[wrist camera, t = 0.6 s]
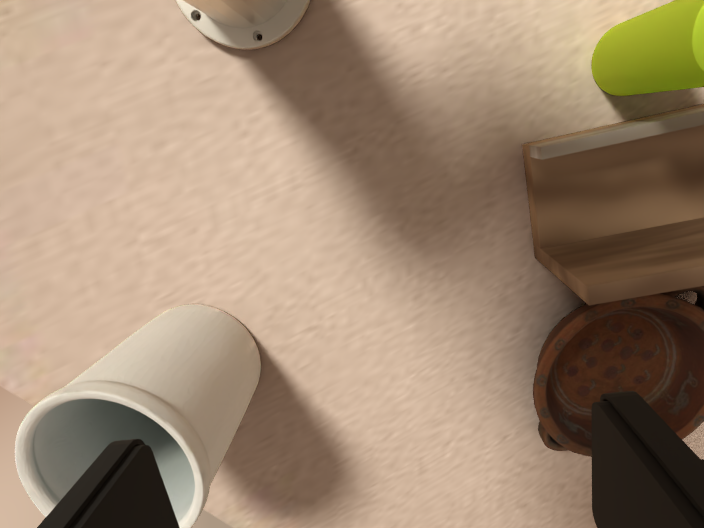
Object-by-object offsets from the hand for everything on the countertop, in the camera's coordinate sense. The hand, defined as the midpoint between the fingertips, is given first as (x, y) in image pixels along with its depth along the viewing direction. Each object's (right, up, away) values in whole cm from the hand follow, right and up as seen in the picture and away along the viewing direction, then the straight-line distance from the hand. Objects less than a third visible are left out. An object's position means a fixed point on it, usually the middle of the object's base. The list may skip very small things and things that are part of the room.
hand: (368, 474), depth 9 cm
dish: (+26, -5, +37) cm, 46 cm away
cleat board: (+25, +12, +31) cm, 42 cm away
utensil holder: (-17, -6, +40) cm, 44 cm away
